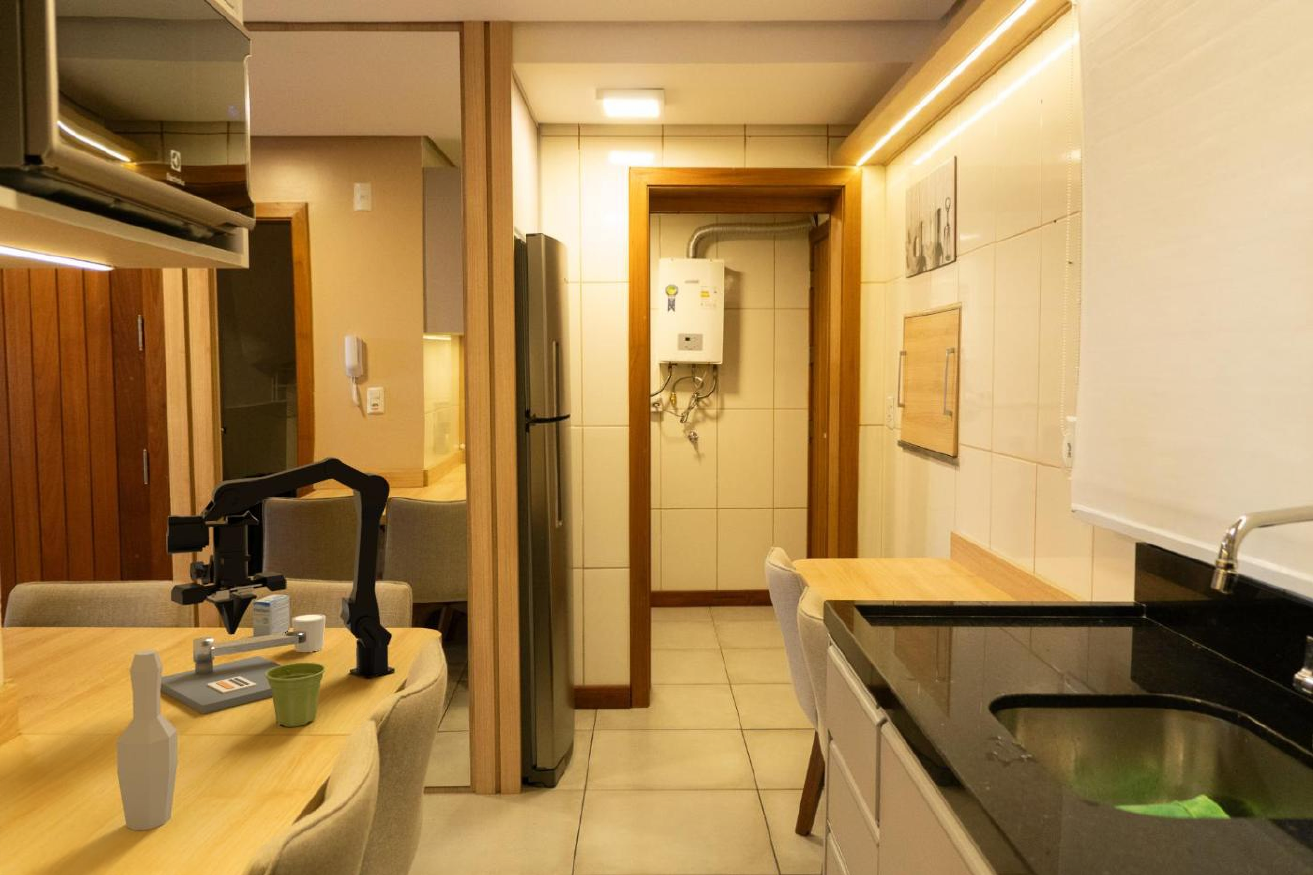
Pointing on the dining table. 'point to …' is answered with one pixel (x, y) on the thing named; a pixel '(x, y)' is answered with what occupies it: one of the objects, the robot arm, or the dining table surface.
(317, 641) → the white cup
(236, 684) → the label board
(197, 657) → the swing arm
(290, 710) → the plant pot
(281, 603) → the medicine box
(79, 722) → the dining table surface
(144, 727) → the low poly bottle
